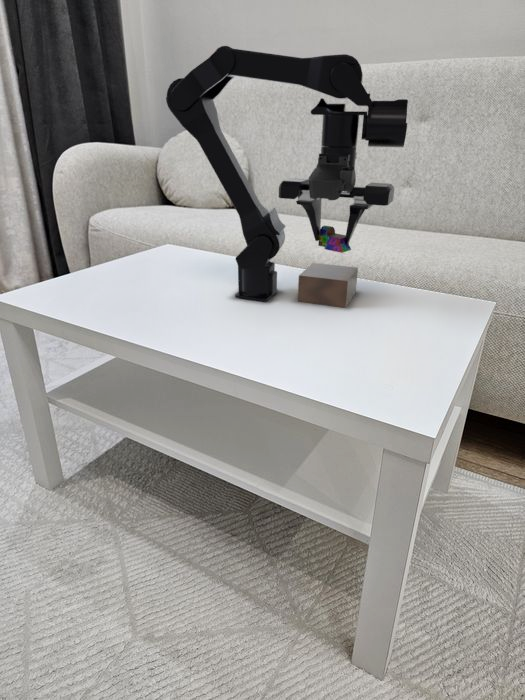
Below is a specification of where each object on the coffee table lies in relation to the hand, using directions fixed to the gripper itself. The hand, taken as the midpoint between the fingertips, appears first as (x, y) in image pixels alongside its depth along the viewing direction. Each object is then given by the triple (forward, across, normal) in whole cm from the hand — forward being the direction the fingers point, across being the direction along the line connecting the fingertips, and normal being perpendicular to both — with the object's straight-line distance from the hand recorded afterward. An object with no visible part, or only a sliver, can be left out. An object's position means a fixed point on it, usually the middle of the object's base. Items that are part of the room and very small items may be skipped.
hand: (331, 242), depth 84 cm
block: (+1, 0, 0) cm, 1 cm away
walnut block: (+11, 0, +2) cm, 11 cm away
